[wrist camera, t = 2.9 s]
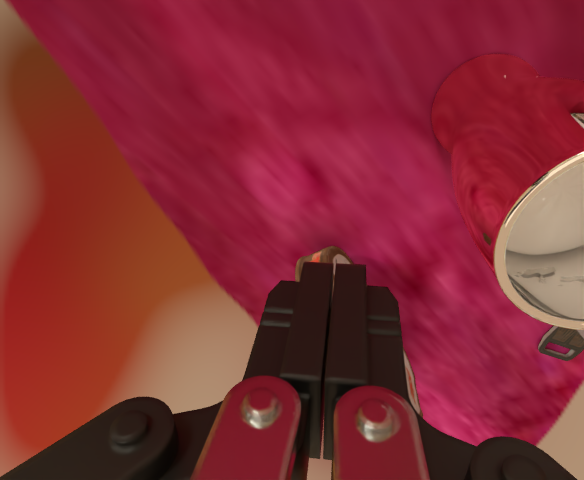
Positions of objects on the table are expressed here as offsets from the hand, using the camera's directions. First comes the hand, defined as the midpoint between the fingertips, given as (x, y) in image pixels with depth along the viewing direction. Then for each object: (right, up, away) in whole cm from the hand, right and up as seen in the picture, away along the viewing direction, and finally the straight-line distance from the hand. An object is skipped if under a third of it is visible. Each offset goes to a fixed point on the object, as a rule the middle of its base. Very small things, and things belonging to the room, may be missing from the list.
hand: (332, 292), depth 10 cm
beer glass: (+10, +9, +14) cm, 20 cm away
